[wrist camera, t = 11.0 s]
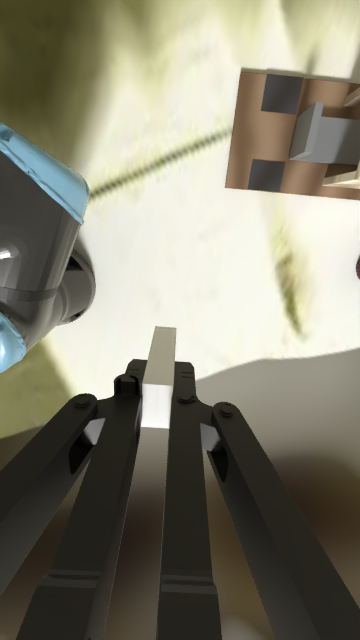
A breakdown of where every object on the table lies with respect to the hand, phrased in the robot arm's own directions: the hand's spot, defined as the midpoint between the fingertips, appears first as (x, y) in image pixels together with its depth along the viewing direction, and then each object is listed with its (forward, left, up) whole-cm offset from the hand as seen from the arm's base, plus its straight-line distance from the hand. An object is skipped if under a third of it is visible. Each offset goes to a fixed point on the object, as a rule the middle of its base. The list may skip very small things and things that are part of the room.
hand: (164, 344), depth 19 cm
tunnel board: (+22, +20, -29) cm, 42 cm away
